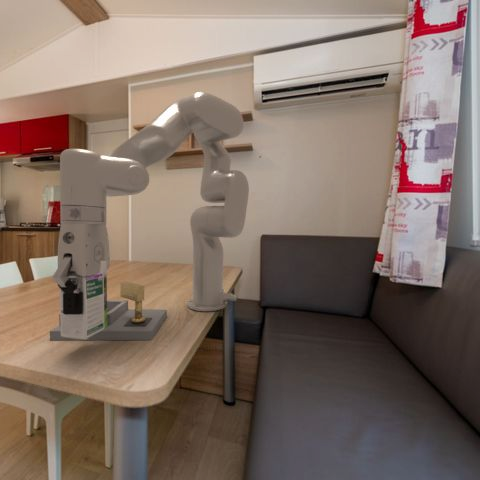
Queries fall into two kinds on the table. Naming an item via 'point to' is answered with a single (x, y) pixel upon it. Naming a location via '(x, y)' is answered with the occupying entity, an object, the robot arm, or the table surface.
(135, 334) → the plate
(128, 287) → the brass key
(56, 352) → the table surface
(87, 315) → the syrup box
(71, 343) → the table surface
